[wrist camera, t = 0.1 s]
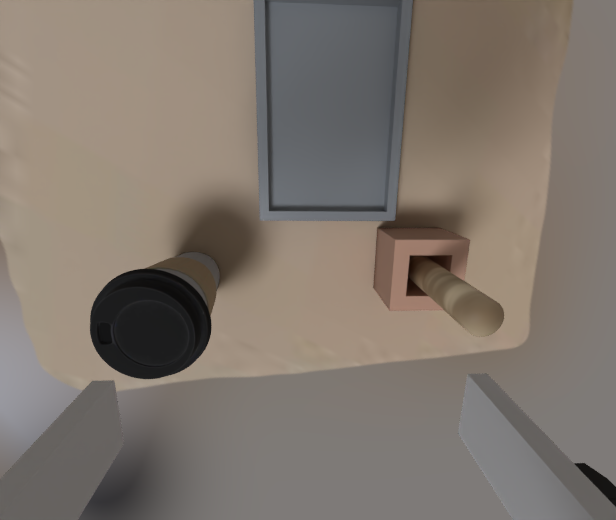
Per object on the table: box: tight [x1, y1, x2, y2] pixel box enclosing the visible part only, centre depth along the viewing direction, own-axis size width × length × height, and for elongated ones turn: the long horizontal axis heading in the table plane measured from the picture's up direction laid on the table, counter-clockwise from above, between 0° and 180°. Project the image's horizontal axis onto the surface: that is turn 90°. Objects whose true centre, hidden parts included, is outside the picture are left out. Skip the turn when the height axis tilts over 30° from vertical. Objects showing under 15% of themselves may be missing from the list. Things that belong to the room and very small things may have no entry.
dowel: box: [408, 255, 504, 337], centre depth 32 cm, size 3×3×16 cm
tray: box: [254, 0, 413, 221], centre depth 35 cm, size 22×15×2 cm
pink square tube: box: [373, 228, 470, 311], centre depth 37 cm, size 8×8×7 cm
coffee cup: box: [90, 252, 220, 379], centre depth 33 cm, size 9×9×15 cm
